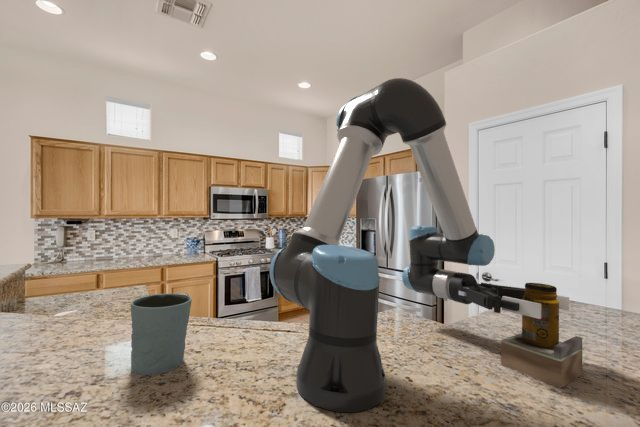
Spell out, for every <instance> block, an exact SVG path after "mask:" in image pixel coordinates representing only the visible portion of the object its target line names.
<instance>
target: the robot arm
mask: <svg viewBox="0 0 640 427" xmlns="http://www.w3.org/2000/svg"><path fill="white" fill-rule="evenodd" d="M336 126H337V129H336V131H337V134H336V135H337V136H336V137H337V140H338V142H339V145H338V146H337V149H336V151H335V154H334V155H333V159H332V161H331V163H330V165H329V167H328V170H327V173H326V175H325V177H324V178H323V181H322V184H321V186H320V187H319V191H318V193H317V194H316V197H315V199H314V201H313V204H312V206H311V209H310V212H309V213H308V216H307V218H306V221H305V223H304V225H303V227H302V228H300V229H298V230H296V231H294V232H293V233H292V235H291V237H290V240H289V241H288V244H287V245H286V246H284V247H282V248H281V249H279V250H278V251H277V252H276V253H275V254H274V256H272V259H271V262H270V266H269V279H270V282H271V284H272V287H273V289H274V290H275V291H276V293H277V294H279V295H280V296H281V297H283V299H285V301H288V302H291V303H294V304H295V305H298V306H300V307H302V308H305V309H307V310H309V323H308V326H309V327H308V338H307V341H306V344H305V347H304V350H303V352H302V355H301V359H300V361H299V364H298V366H297V369H296V380H295V381H296V389H297V392H298V393H299V394H300V396H301V397H302V398H303V399H304V400H306V401H307V402H308V403H310V404H312V405H313V406H316V407H319V408H321V409H325V410H328V411H333V412H339V413H356V412H364V411H367V410H370V409H373V408H374V407H376V406H378V405H379V404H381V402H382V401H383V400H384V399H385V397H386V392H387V378H386V377H387V376H386V372H385V370H384V368H383V363H382V359H381V354H380V352H379V348H378V342H377V339H378V338H377V337H378V336H377V334H378V333H377V331H378V312H379V296H380V295H379V293H380V292H379V290H380V274H379V261H378V259H377V257H376V255H374V254H373V253H372V252H369V251H367V250H365V249H361V248H357V247H352V246H346V245H340V243H339V242H340V240H341V237H342V235H343V232H344V229H345V227H346V225H347V223H348V220H349V217H350V214H351V213H352V210H353V206H354V204H355V201H356V199H357V196H358V194H359V191H360V189H361V187H362V186H361V185H362V183H363V181H364V178H365V176H366V174H367V170H368V168H369V166H370V163H371V161H372V158H373V156H376V155H379V154H380V153H381V152H382V149H383V147H384V144H385V143H386V139H387V138H388V137H389V136H392V135H395V134H397V133H398V134H399V136H400V138H401V141H402V143H403V144H405V145H408V146H409V148H410V150H411V154H412V156H413V158H414V161H415V163H416V166H417V169H418V173H419V174H420V176H421V180H422V181H423V185H424V187H425V190H426V193H427V195H428V198H429V200H430V203H431V205H432V207H433V210H434V213H435V215H436V218H437V221H438V224H439V226H440V228H441V232H438V228H437V227H436V226H435V225H414V226H411V227H410V228H409V240H408V242H409V255H410V256H409V259H410V263H409V264H408V265H406V266H405V267H404V269H403V273H402V275H401V279H402V282H403V285H404V286H405V288H406V289H408V290H410V291H414V292H416V293H419V294H425V295H428V296H429V295H430V296H433V297H437V298H440V299H443V301H445V302H446V301H447V302H448V300H449V301H454V302H456V303H459V304H464V305H470V304H475V305H477V306H480V307H482V308H484V309H487V310H493V312H494V313H496V314H502V313H501V310H502V311H506V312H510V313H512V314H517V315H525V316H529V317H533V318H537V319H541V304H540V303H535V302H530V301H525V300H522V298H523V296H524V294H525V293H524V291H525V287H524V288H522V287H515V286H507V285H499V284H493V283H487V282H480V283H478V282H477V279H476V277H475V276H474V275H473V274H470V273H464V272H457V271H454V270H448V269H442V268H441V269H440V268H439V262H440V261H441V262H447V263H455V264H463V265H468V266H481V267H482V266H483V267H484V266H487V265H489V264H491V262H492V261H493V259H494V256H495V253H496V252H495V243H494V240H493V239H492V238H491V237H490V236H489V235H487V234H483V233H482V234H479V233H478V230H477V226H476V224H475V220H474V218H473V214H472V212H471V209H470V206H469V203H468V201H467V198H466V195H465V192H464V189H463V186H462V182H461V179H460V177H459V174H458V171H457V168H456V165H455V163H454V159H453V156H452V154H451V151H450V147H449V144H448V141H447V138H446V135H445V133H444V130H445V129H446V126H447V122H446V118H445V116H444V113H443V111H442V108H441V107H440V106H439V104H438V101H436V99H435V98H434V97H433V95H432V94H431V93H430V92H429V91H428V90H427V89H426V88H425V87H423V86H422V85H421V84H420V83H417V82H416V81H414V80H410V79H408V78H403V77H397V78H396V77H395V78H390V79H388V80H385V81H384V82H382V83H381V84H379V85H377V86H375V87H373V88H371V89H370V90H367V91H366V92H364V93H362V94H360V95H358V96H355V97H353V98H351V99H350V100H349V101H348V102H346V103H345V104H343V105H342V107H341V108H340V109H339V112H338V114H337V117H336ZM556 299H557V300H558V301H559V310H562V311H570V297H569V296H566V295H565V296H564V295H558V294H557V297H556Z"/></svg>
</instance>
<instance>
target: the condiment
mask: <svg viewBox="0 0 640 427" xmlns="http://www.w3.org/2000/svg"><path fill="white" fill-rule="evenodd" d="M524 288H525V291H524V293H525V294H524V296H523V298H522V300H525V301H530V302H535V303H540V304H541V319H537V318H533V317H529V316H525V315H522V316H521V320H522V321H521V333H522V336H520V337H515V338H513V339H509V341H512V342H513V343H516V344H519V345H522V346H524V347H528V348H530V349H534V350H538V351H540V352H544V353H547V354H550V355H551V354H552V353H554V346H555V345H558V344H559V342H560V309H559V301H558V300H557V299H556V297H557V295H558V293H557V291H558V290H557V287H556V286H555V285H551V284H546V283H541V282H540V283H539V282H538V283H537V282H525V284H524Z"/></svg>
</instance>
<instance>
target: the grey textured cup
mask: <svg viewBox="0 0 640 427" xmlns="http://www.w3.org/2000/svg"><path fill="white" fill-rule="evenodd" d="M192 300H193V299H192V296H190V295H187V294H183V293H157V294H156V293H155V294H149V295H145V296H141V297H138V298H136V299H133V300H132V301H131V302H130V316H131V338H130V339H131V345H130V347H131V351H130V353H131V354H130V355H131V356H130V364H131V365H130V368H131V371H132V373H134V374H136V375H140V376H155V375H161V374H165V373H168V372H171V371H172V370H175V369H177V368H178V367H180V366H181V365H182V364H183V362H184V358H185V350H186V338H187V329H188V325H189V321H190V320H189V319H190V315H191V314H190V313H191V306H192Z"/></svg>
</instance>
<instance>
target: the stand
mask: <svg viewBox="0 0 640 427" xmlns="http://www.w3.org/2000/svg"><path fill="white" fill-rule="evenodd" d="M520 336H522V332H521V333H517V334H515V335H512V336H509V337H506V338H504V339H501V342H500V344H501V345H500V357H501V358H500V365H501V366H504V367H506V368H509V369H511V370H514V371H517V372H519V373H521V374H524V375H526V376H530V377H531V378H534V379H537V380H539V381H541V382H544V383H546V384H549V385H551V386H554V387H557V388H559V389H562V388H563V387H565V386H566V385H568V384H569V383H571V382H573V381H574V380H575V379H577V378H578V377H580V376H581V375H583V337H581V336H577V335H576V336H573V337H570V338H568V339H567V340H564V341H559V344H558V345H555V346H554V353H552V354H551V355H550V354H547V353H544V352H540V351H538V350H534V349H530V348H528V347H524V346H522V345H519V344H516V343H513V342H512V341H509V339H513V338H515V337H520Z"/></svg>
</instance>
